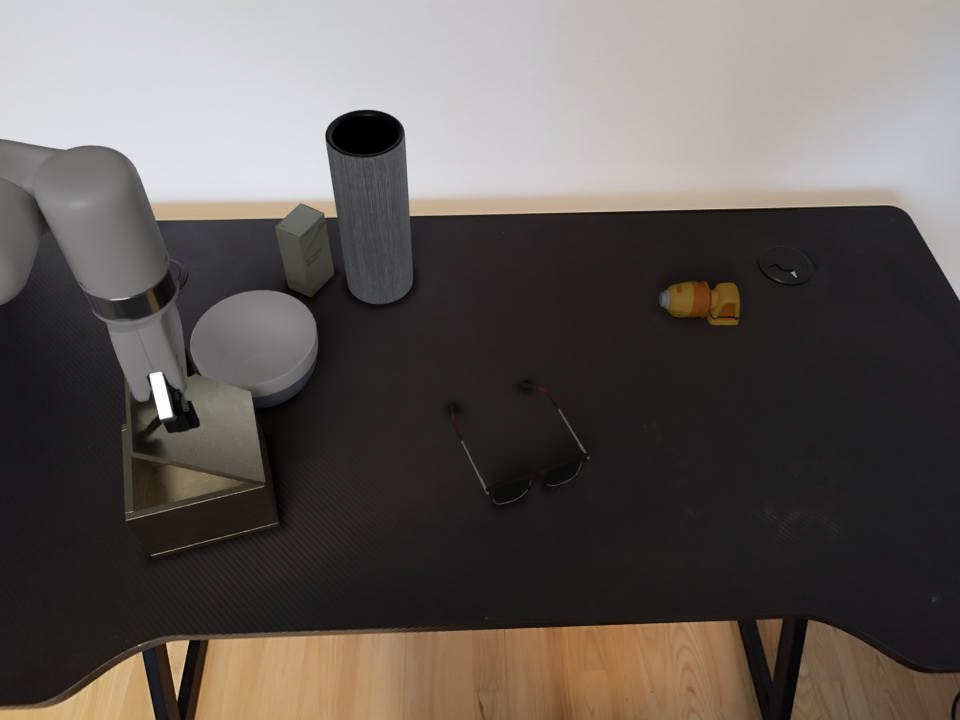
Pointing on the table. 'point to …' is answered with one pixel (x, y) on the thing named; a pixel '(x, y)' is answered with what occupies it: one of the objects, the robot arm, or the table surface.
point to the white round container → (257, 345)
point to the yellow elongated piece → (702, 301)
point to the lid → (200, 432)
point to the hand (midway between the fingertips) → (181, 400)
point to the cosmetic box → (305, 249)
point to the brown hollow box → (193, 504)
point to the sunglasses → (520, 484)
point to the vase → (372, 203)
